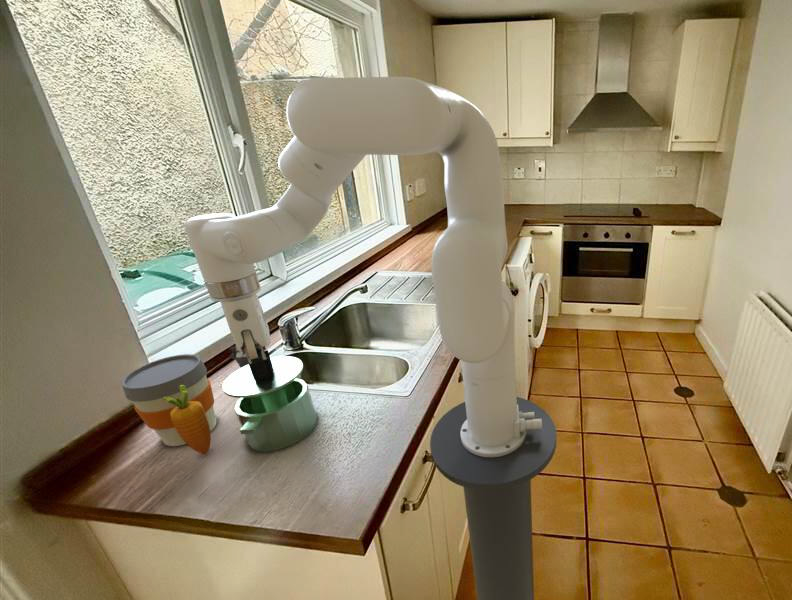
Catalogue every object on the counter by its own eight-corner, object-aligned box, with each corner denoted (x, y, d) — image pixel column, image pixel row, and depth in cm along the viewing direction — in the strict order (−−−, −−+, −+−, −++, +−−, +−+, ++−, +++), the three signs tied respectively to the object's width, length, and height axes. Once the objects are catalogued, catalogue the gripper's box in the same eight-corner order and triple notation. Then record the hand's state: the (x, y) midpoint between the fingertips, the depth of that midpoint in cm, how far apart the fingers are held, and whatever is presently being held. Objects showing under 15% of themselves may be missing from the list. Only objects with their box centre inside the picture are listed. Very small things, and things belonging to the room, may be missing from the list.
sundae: (281, 381, 98) (264, 327, 92) (258, 397, 92) (238, 341, 86) (261, 377, 100) (242, 325, 94) (237, 393, 94) (216, 338, 88)
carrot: (199, 466, 73) (168, 400, 67) (184, 458, 75) (152, 394, 69) (226, 448, 77) (199, 384, 71) (211, 441, 79) (184, 379, 73)
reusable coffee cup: (220, 403, 90) (197, 347, 84) (232, 429, 82) (207, 368, 76) (149, 431, 82) (118, 371, 76) (154, 463, 74) (120, 398, 68)
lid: (315, 359, 83) (308, 331, 80) (282, 399, 70) (272, 367, 67) (251, 362, 82) (241, 334, 80) (206, 402, 70) (193, 371, 67)
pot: (331, 400, 90) (322, 369, 86) (292, 460, 73) (280, 424, 70) (276, 403, 89) (265, 372, 86) (225, 464, 73) (209, 428, 70)
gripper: (259, 295, 64) (288, 388, 71) (258, 270, 77) (283, 351, 84) (203, 305, 60) (240, 402, 68) (212, 277, 73) (242, 362, 80)
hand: (264, 373), depth 76 cm, fingers closed on lid, 2 cm apart
